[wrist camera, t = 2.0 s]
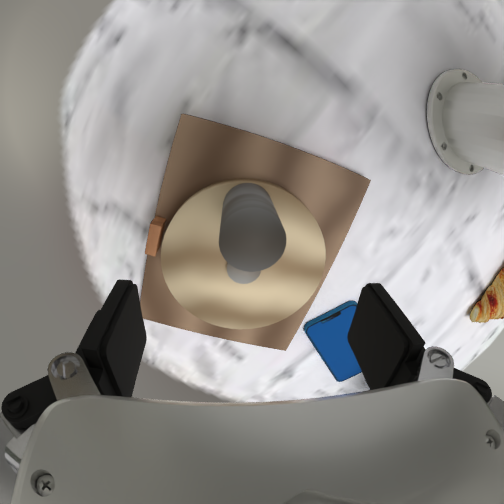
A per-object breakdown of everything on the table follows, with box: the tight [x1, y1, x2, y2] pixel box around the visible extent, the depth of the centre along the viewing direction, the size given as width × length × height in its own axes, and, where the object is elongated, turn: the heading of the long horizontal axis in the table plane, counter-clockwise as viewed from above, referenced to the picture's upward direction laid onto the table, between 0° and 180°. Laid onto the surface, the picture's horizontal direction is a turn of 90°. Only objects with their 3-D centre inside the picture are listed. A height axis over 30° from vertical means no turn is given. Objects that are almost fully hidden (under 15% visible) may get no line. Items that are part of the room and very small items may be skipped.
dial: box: [161, 178, 326, 329], centre depth 23 cm, size 15×15×9 cm
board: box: [140, 114, 371, 351], centre depth 27 cm, size 18×22×4 cm
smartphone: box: [304, 301, 362, 382], centre depth 36 cm, size 7×1×15 cm
